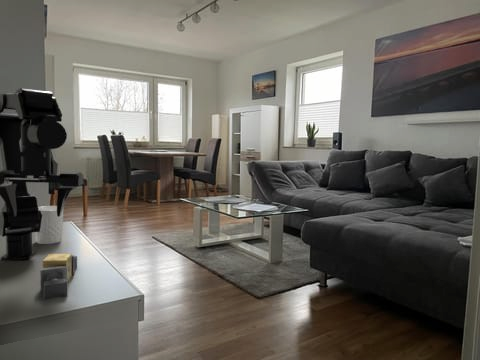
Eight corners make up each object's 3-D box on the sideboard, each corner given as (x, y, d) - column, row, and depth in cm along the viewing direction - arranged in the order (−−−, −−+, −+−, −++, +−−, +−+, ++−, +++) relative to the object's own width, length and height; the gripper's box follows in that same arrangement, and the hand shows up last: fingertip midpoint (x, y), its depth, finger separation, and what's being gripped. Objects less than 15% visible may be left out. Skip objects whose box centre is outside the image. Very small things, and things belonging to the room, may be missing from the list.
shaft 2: (57, 267, 86) (57, 249, 86) (78, 267, 87) (78, 249, 87) (50, 276, 81) (50, 256, 81) (73, 275, 82) (73, 256, 82)
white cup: (56, 236, 113) (56, 204, 112) (68, 241, 108) (68, 208, 107) (29, 241, 107) (28, 207, 106) (40, 246, 102) (40, 211, 101)
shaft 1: (40, 289, 74) (40, 268, 73) (66, 285, 76) (66, 265, 76) (42, 299, 69) (41, 277, 69) (69, 295, 72) (69, 273, 71)
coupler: (43, 286, 76) (42, 260, 75) (49, 278, 80) (49, 254, 79) (66, 285, 77) (66, 260, 76) (71, 277, 81) (71, 253, 80)
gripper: (88, 148, 90) (88, 209, 92) (5, 144, 86) (6, 209, 88) (77, 149, 79) (77, 219, 81) (-18, 145, 75) (-16, 219, 77)
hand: (36, 216), depth 82 cm, fingers open, 9 cm apart
